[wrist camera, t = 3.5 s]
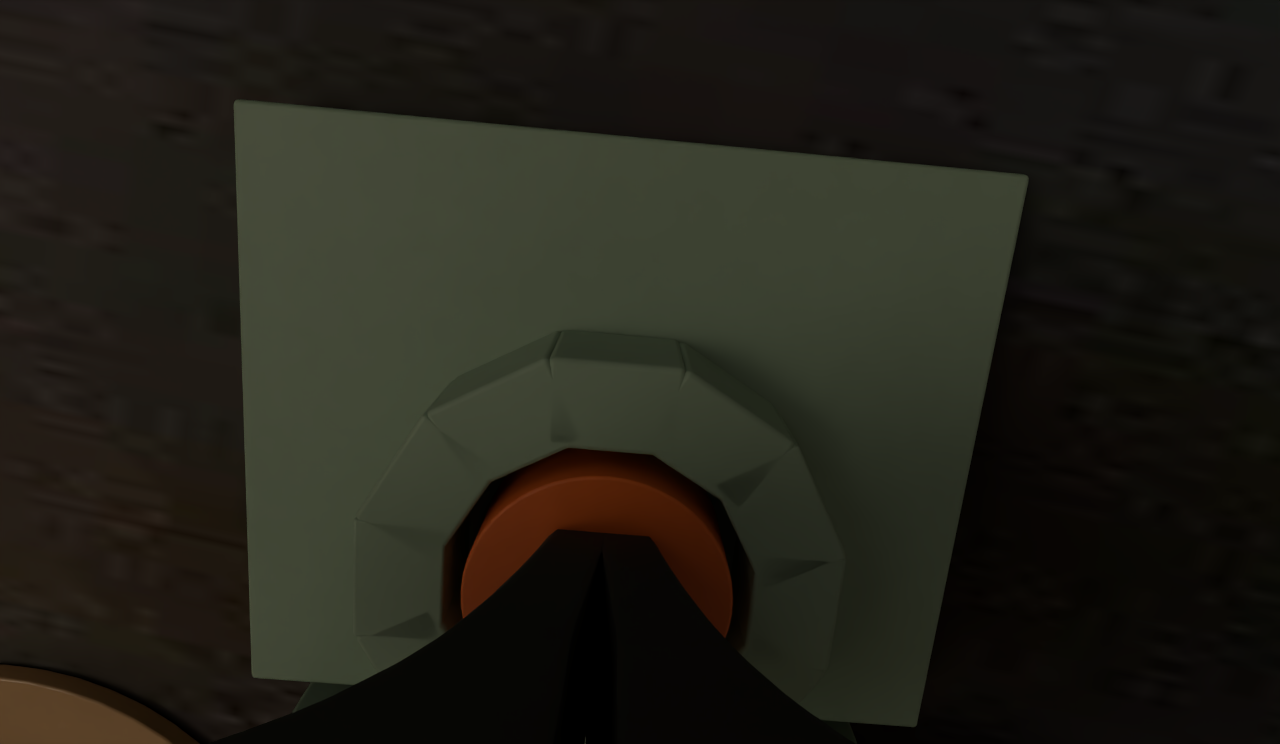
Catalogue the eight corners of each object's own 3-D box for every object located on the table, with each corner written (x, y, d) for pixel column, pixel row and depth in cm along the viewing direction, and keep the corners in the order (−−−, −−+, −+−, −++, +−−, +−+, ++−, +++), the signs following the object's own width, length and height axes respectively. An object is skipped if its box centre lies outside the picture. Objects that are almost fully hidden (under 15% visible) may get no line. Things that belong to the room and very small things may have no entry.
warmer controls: (889, 689, 15) (957, 828, 12) (286, 643, 14) (190, 773, 11) (988, 174, 12) (1106, 176, 9) (276, 105, 12) (153, 84, 9)
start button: (706, 656, 13) (716, 732, 11) (478, 639, 13) (454, 711, 11) (733, 442, 12) (749, 488, 10) (489, 422, 12) (465, 464, 10)
